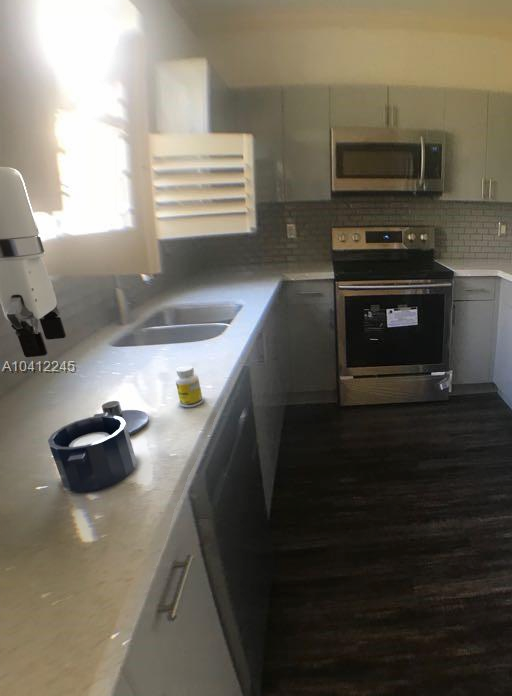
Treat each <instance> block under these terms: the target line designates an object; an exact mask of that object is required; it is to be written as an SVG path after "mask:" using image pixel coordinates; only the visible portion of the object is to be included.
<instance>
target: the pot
mask: <svg viewBox="0 0 512 696" xmlns="http://www.w3.org/2000/svg"><path fill="white" fill-rule="evenodd" d="M96 432H104V433H108V434H109V435H110V436H109V437H107V438H105V439H103V440H101V441H98V442H94V443H91V444H88V445H83V446H77V447H69V444H70V443H71V442H72V441H74V440H75V439H77V438H79V437H81V436H84V435H86V434H90V433H96ZM47 441H48V442H47V443H48V446H49V449H50V452H51V455H52V457H53V461H54V464H55V466H56V469H57V472H58V474H59V477H60V481H61V483H62V486H63V488H64V489H65V490H67V491H68V492H72V493H75V494H76V493H77V494H85V493H86V494H87V493H93V492H98V491H102V490H104V489H107V488H110V487H113V486H115V485H117V484H119V483H120V482H122V481H125V479H127V478H128V477H130V476H131V475H132V474H133V472H134V471H135V469H136V467H137V458H136V455H135V451H134V447H133V443H132V440H131V436H130V435H129V432H128V429H127V425H126V422H125V421H124V419H123V418H121V417H118V416H112V415H108V413H103V412H101V413H95V414H93V416H88V417H87V418H82V419H79V420H76V421H73V422H71V423H68V424H66V425H64V426H61V427H60V428H58V429H57V430H56V431H54V432H53V433H51V435H50V436H49V438H48V439H47Z"/></svg>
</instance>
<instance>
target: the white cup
mask: <svg viewBox="0 0 512 696" xmlns="http://www.w3.org/2000/svg"><path fill="white" fill-rule="evenodd" d="M109 436H110V435H109V434H108V433H104V432H96V433H90V434H86V435H84V436H81V437H79V438H77V439H75V440H74V441H72V442H71V443H70V444H69V447H77V446H83V445H88V444H91V443H94V442H98V441H101V440H103V439H105V438H107V437H109Z"/></svg>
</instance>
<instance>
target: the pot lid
mask: <svg viewBox="0 0 512 696" xmlns="http://www.w3.org/2000/svg"><path fill="white" fill-rule="evenodd" d="M101 410H102V413H108V415H112V416H118V417H121V418H123V419H124V421H125V422H126V425H127V429H128V432H129V436H130V435H132V434H134V433H136V432H138V431H140V430H141V429H143V428H144V427H145V426H146V425H147V424H148V422H149V415H148V413H146V412H145V411H142V410H138V409H125V410H122V406H121V404H120V401H118V400H112V401H107V402H104V403H103V404H102V405H101Z"/></svg>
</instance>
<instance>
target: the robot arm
mask: <svg viewBox="0 0 512 696" xmlns="http://www.w3.org/2000/svg"><path fill="white" fill-rule="evenodd" d="M45 256H46V252H45V249H44V246H43V241H42V238H41V236H40V232H39V228H38V226H37V222H36V218H35V215H34V211H33V209H32V205H31V202H30V199H29V195H28V192H27V188H26V186H25V182H24V179H23V176H22V174H21V173H20V172H19V171H18V170H17V169H15V168H12V167H8V166H0V305H1V309H2V312H3V315H4V318H5V320H7V321H8V322H10V324H11V328H12V329H13V330H14V334H15V335H16V336H17V338H18V342H19V344H20V347H21V350H22V353H23V356H24V357H25V358H35V357H44V356H47V355H48V350H47V347H46V343H45V341H44V338H45V339H46V340H49V341H50V340H57V339H59V340H60V339H65V338H66V337H67V335H66V331H65V327H64V324H63V321H62V318H61V312H60V310H59V309H58V301H57V297H56V293H55V289H54V286H53V283H52V281H51V277H50V275H49V272H48V269H47V267H46V264H45V261H44V259H43V257H45ZM28 322H30V324H29V323H28ZM39 322H40V326H41V329H42V332H43V333H42V332H41V331H39ZM43 335H44V337H43Z"/></svg>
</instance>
